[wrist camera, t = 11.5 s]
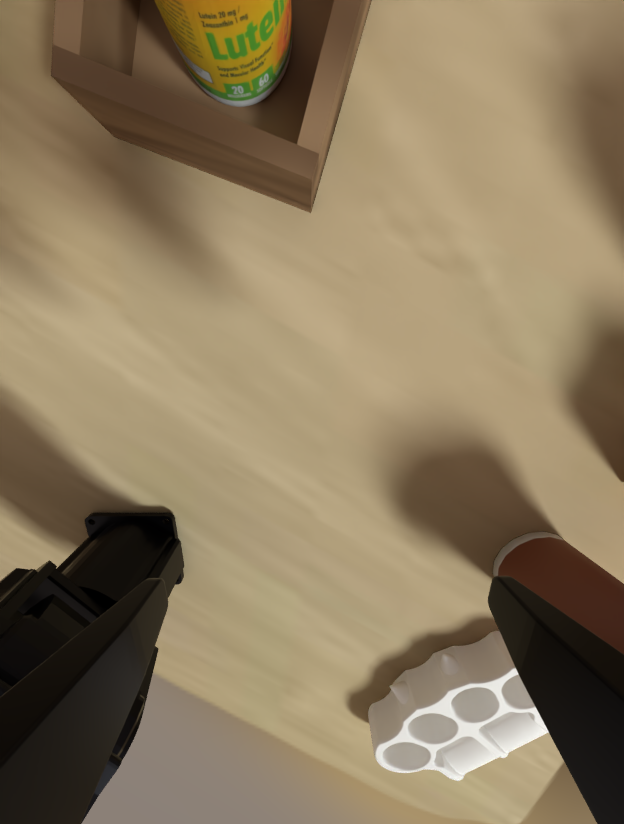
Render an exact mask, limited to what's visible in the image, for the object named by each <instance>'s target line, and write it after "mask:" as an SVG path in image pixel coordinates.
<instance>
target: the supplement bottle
mask: <svg viewBox="0 0 624 824" xmlns="http://www.w3.org/2000/svg"><path fill="white" fill-rule="evenodd" d="M154 1H155V3H156V5H157V7H158V9H159V11H160V13H161V16H162V18H163V20H164V22H165V24H166V26H167V28H168V30H169V32H170V34H171V37H172V39H173V41H174V43H175V45H176V47H177V49H178V51H179V54H180V56H181V58H182V60H183V61H184V63H185V65H186V67H187V69H188V71H189V73H190V74H191V76H192V77H193V79H194V80H195V82H196V83H197V84H198V85H199V86H200V87H201V88H202V90H204V91H205V92H206V93H207V94H208V95H209V96H211V97H212V98H214V99H215V100H217V101H219V102H221V103H223V104H226V105H230V106H235V107H245V106H250V105H254V104H256V103H258V102H260V101H262V100H264V99H265V98H266V97H268V96H269V95H270V94H271V93H272V92H273V91H274V90H275V88H276V87H277V86H278V84H279V83H280V81H281V79H282V78H283V76H284V73H285V71H286V68H287V66H288V62H289V58H290V54H291V47H292V12H291V0H154Z"/></svg>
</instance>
